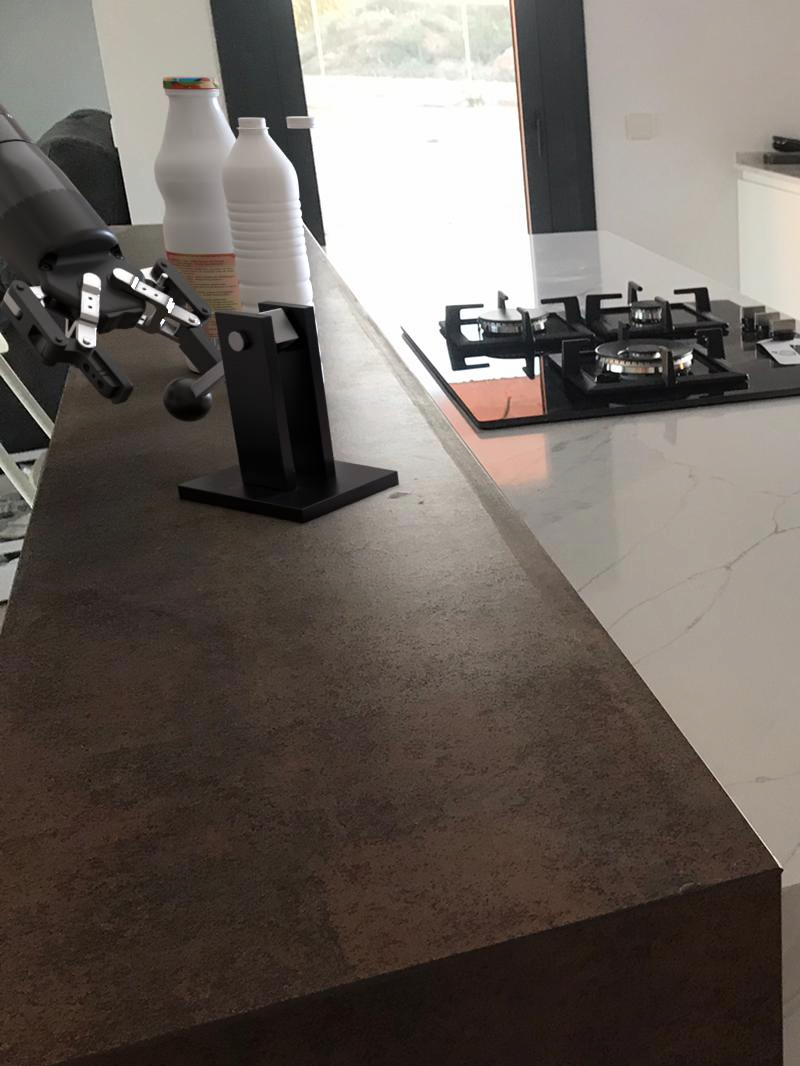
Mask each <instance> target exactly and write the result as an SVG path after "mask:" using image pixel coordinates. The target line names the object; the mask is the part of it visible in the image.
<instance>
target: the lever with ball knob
mask: <svg viewBox="0 0 800 1066" xmlns="http://www.w3.org/2000/svg"><path fill="white" fill-rule="evenodd" d="M258 314H263V315H270V316H272V323H273V330H274V336H275V343H276V350H277V354H279V353H280V352H281V351H282V350H284V349H285V348H286V347H287V346H289V345H290V344H291V343H293V342H294V341H295V340H296V339H298V335H297V334H296V332H295V330H294V328H293V327H292V325H291V323H290V322H289V320H288V318H287V317H286V315H285V313H284V311H283V310H282V309H281V308H280V309H275V310H271V311H266V312H261V313H258ZM224 382H226V380H225V374H224V368H223V362H222V360H221V361H220V362H219V363H218V364H216V365H215V366H214V367H213V368H212V369H210V370H209V371H208V372H207V373H205V374H204V375H203V376H202V375H201V376H200V377H199V378H196V377H191V376H181V377H177V378H175V379H173V380H171V381H170V382H169V383H168V384H167V385H166V386H165V387H164V390H163V394H162V401H163V407H164V408H165V410H166V412H168V414H169V415H170V416H171V417H173V418H174V419H176V420H178V421H181V422H186V423H193V422H198V421H201V420H202V419H203V418H206V416H207V415H208V414H209V412H210V411H211V409H212V406H213V396H212V393H211V392H213V391H214V390H215V389H217V388H218V387H219V386H221V385H222V384H223V383H224Z"/></svg>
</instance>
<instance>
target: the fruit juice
mask: <svg viewBox="0 0 800 1066" xmlns="http://www.w3.org/2000/svg"><path fill="white" fill-rule="evenodd" d="M162 88H163V91H164V94H165V96H167V98H168V109H167V114H166V115H167V116H166V120H165V126H164V127H165V128H164V133H163V136H162V142H161V145H160V149H159V150H158V153H157V155H156V157H155V160H154V165H153V172H154V179H155V183H156V186H157V188H158V191H159V193H160V195H161V197H162V200H163V202H164V206H165V207H164V208H165V209H164V215H163V219H162V233H163V241H164V247H165V252H166V257H167V260H168V261H169V262H170V263H171V264H172V265H173V266H174V267H175V268H176V269H177V270H178V272H179V273H180V274H181V275H182V276H183V277H184V278H185V279H186V280H187V282H188V283H189V284H190V285H191V286H192V287H193V288H194V289H195V291H196V292H197V293H198V294H199V295H200V296H201V297H202V298H203V299H204V301H205V302H206V303H207V304H208V305H209V306H210V307H211V308H212V310H213V314H212V315H211V317H210V319H209V320H208V322H207V323H206V325H205V327H204V328H203V331H204V333H205V334H206V335H207V336H208V337H209V339H210V340H211V341H212V342H213V343H214V345H215V346H216V347H217V349H218V350H219V351H220V352H221V350H220V344H219V338H218V331H217V325H216V319H215V312H217V311H222V310H230V311H238V312H243V311H242V306H243V303H242V301H241V298H240V292H239V284H240V282H239V280H238V278H237V273H236V265H235V254H234V251H233V248H234V246H233V244H232V239H233V237H232V236H231V227H230V225H229V221H230V219H229V217H228V211H229V210H228V209H227V206H226V203H227V200H226V198H225V193H224V189H223V183H222V170H223V166H224V163H225V161H226V159H227V157H228V155H229V153H230V151H231V149H232V147H233V146H234V144H235V142H236V140H237V138H236V136H235V133H234V132H233V130H232V129H231V126H230V124H229V122H228V120H227V117H226V116H225V113H224V112H223V110H222V108H221V106H220V103H219V99H218V98H219V96H220V85H219V80H218V78H217V77H214V76H164V77H163V78H162ZM186 306H187V308H188V309H189V310H190V311H191V312H192V311H194V310H193V309H192V308H191V307H190V306H189V305H188V304H186ZM179 324H180V323H178V325H179ZM183 354H184V353H183ZM184 359H185V362H186V363H185V364H186V365H187V367H188V369H189V370H190V371H192V372H195V373H198V374H201V373H200V372H199V371H198V370H197V368H196V367H195V366H194V365H193V364H192V362H191V361H190V360H189V359H188V357H187V356H186V355H185V354H184Z"/></svg>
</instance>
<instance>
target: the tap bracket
mask: <svg viewBox="0 0 800 1066" xmlns="http://www.w3.org/2000/svg"><path fill="white" fill-rule="evenodd" d="M314 307H315V305H314V306H308V305H299V304H291V303H282V302H274V301H264V302H260V303H258V308H259V313H261V312H266V311H271V310H275V309H280V308H281V309H282V310H283V311H284V313H285V315H286V317H287V318H288V320H289V322H290V323H291V325H292V327H293V328H294V330H295V332H296V334H297V335H298V339H296V340H295V341H294V342H293V343H291V344H290V345H289V346H287V347H286V348H285V349H284V350H282V351H281V352H280V353H279V354H277V350H276V343H275V336H274V330H273V323H272V316H270V315H263V314H255V313H246V312H238V311H230V310H222V311H217V312H215V319H216V325H217V331H218V338H219V344H220V350H221V356H222V362H223V368H224V374H225V386H226V392H227V397H228V404H229V410H230V416H231V422H232V428H233V434H234V441H235V446H236V452H237V457H238V458H237V459H238V464H235V465H232V466H229V467H226V468H224V469H220V470H218V471H215V472H211V473H209V474H206V475H203V476H200V477H197V478H194V479H192V480H188V481H185V482H183V483H179V484H177V487H176V488H177V491H178V497H179V500H183V501H189V502H193V503H197V504H204V505H207V506H208V505H209V506H214V507H218V508H222V509H229V510H233V511H238V512H244V513H249V514H252V515H257V516H263V517H268V518H274V519H279V520H283V521H289V522H293V523H299V524H307V523H310V522H311V521H312V522H313V521H314V520H316V519H319V518H321V517H323V516H326V515H328V514H330V513H333V512H335V511H338V510H340V509H342V508H345V507H347V506H350V505H353V504H355V503H357V502H360V501H363V500H365V499H367V498H370V497H372V496H374V495H377V494H380V493H382V492H384V491H386V490H389V489H391V488H393V487H396V486H399V485H400V481H399V471H397V470H394V469H387V468H383V467H382V468H381V467H376V466H370V465H364V464H358V463H354V462H347V461H343V460H342V461H341V460H336V459H335V457H334V450H333V441H332V434H331V427H330V420H329V412H328V404H327V396H326V389H325V380H324V381H323V374H324V372H323V373H322V367H323V365H322V366H321V362H322V359H321V357H320V353H321V350H320V351H319V345H320V342H319V335H318V336H317V330H318V327H317V328H316V323H317V320H316V321H315V319H316V312H315V313H314ZM318 342H319V343H318Z"/></svg>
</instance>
